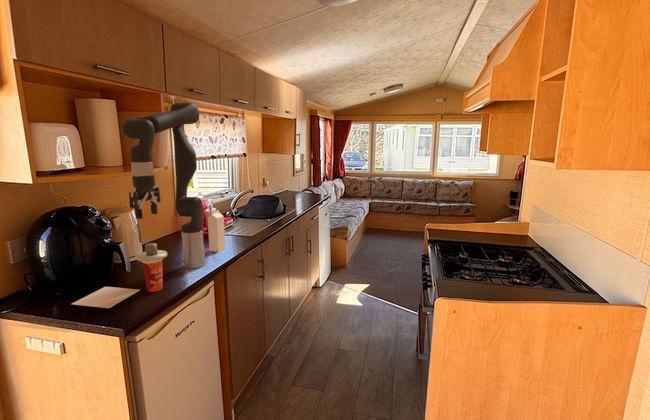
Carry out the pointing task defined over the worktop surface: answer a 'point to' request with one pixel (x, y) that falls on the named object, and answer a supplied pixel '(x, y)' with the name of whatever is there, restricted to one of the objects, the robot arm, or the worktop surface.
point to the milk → (216, 231)
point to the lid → (151, 253)
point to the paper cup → (153, 275)
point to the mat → (106, 297)
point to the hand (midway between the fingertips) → (147, 216)
